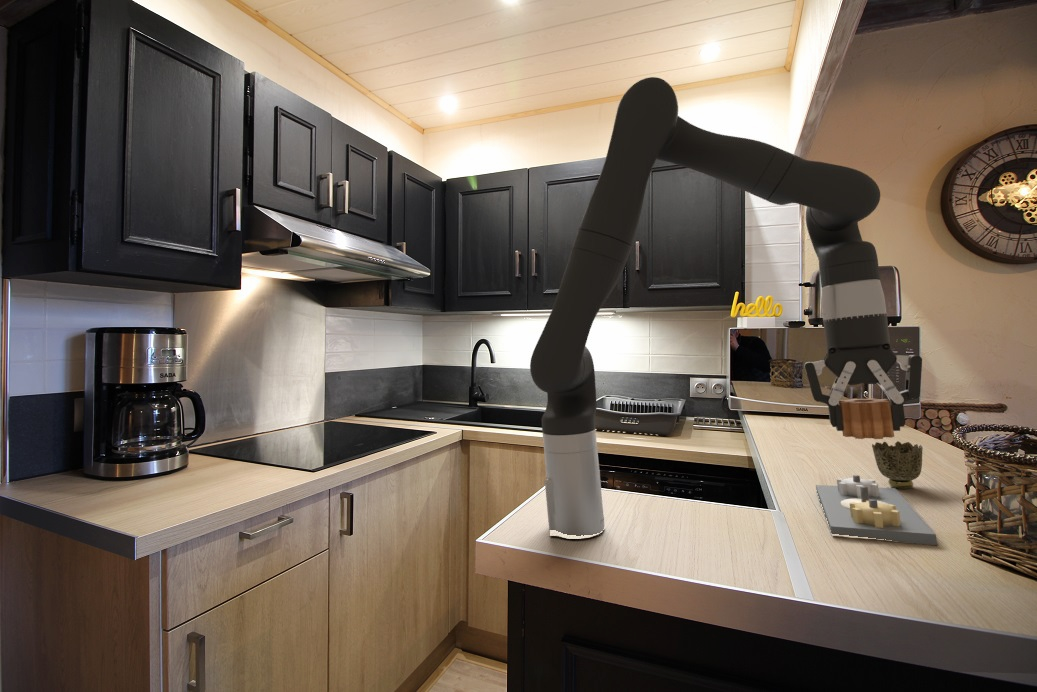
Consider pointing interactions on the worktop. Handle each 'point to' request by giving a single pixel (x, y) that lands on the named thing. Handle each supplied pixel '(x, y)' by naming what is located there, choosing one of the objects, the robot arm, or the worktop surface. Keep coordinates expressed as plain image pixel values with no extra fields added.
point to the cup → (899, 463)
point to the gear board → (863, 530)
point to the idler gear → (867, 418)
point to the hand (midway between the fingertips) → (867, 429)
